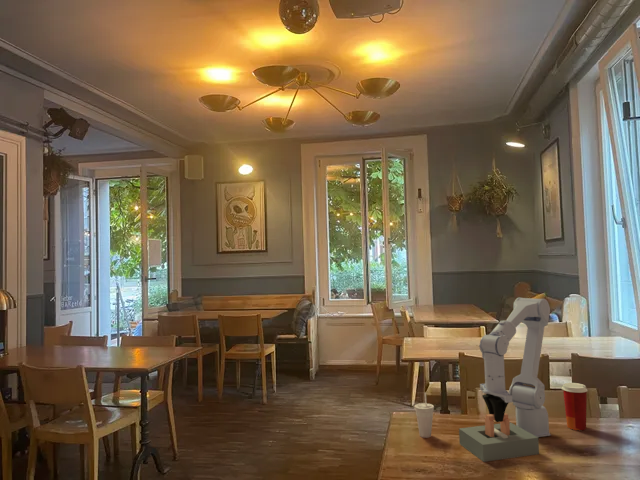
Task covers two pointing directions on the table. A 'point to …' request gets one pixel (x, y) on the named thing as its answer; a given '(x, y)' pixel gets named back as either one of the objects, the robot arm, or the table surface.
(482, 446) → the grey panel with window
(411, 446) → the table surface
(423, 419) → the smoothie
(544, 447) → the table surface
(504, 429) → the orange arch block
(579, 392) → the paper cup
